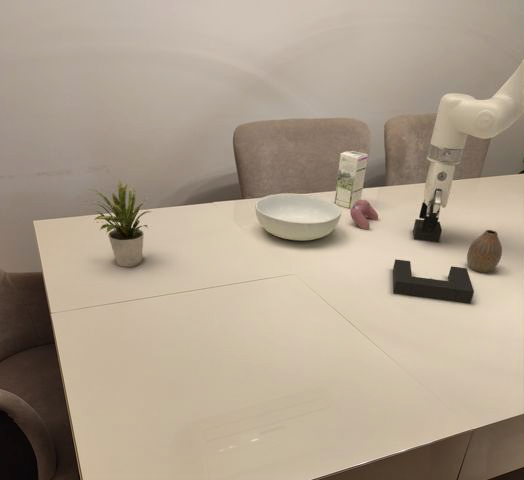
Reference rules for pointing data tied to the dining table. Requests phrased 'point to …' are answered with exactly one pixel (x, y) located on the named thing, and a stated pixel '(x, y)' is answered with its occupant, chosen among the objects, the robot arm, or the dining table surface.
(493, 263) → the vase
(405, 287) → the notched pad
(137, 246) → the house plant
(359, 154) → the syrup box
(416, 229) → the black block
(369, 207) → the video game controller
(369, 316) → the dining table surface
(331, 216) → the serving bowl
